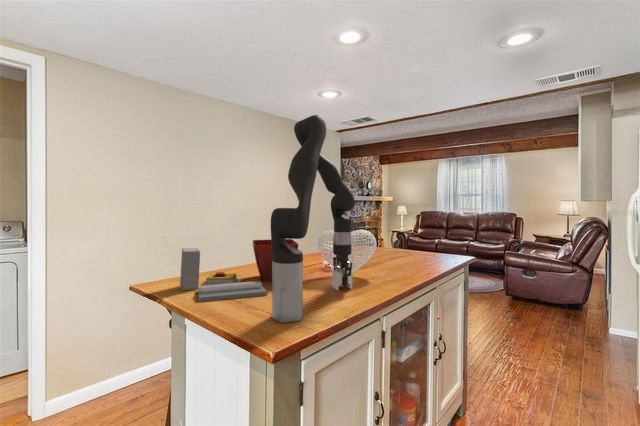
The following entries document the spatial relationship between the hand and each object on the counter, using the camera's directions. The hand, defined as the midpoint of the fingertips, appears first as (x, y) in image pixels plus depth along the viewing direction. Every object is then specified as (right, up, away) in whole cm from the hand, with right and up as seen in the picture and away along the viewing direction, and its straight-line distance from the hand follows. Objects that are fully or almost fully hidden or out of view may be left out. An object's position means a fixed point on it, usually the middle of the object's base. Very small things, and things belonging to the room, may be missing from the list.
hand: (341, 283), depth 133 cm
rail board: (-43, -2, -9) cm, 44 cm away
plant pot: (-30, -1, +16) cm, 34 cm away
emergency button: (-52, -2, +9) cm, 52 cm away
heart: (+4, -1, +21) cm, 21 cm away
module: (0, -2, 0) cm, 2 cm away
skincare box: (-62, -1, -1) cm, 62 cm away
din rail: (-43, 0, -9) cm, 44 cm away
